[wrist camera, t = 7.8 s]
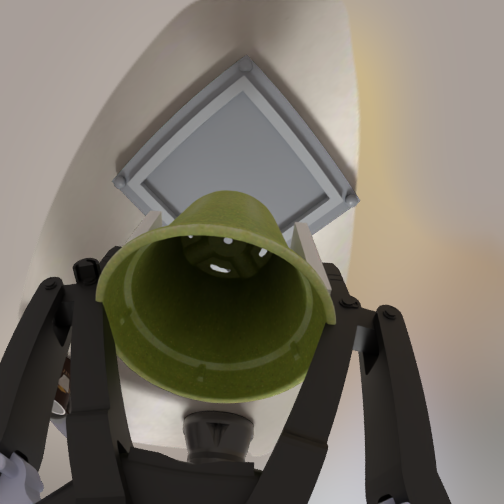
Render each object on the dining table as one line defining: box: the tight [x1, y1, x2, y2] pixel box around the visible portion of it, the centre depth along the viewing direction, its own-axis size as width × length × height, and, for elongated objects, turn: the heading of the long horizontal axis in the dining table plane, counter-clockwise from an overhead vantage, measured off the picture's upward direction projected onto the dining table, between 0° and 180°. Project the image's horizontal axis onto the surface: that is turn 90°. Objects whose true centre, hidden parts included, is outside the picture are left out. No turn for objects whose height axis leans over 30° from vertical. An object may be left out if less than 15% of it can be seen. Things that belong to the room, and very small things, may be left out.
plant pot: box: [96, 190, 336, 403], centre depth 14 cm, size 9×9×9 cm
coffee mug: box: [52, 357, 71, 415], centre depth 41 cm, size 12×9×10 cm
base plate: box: [112, 55, 360, 272], centre depth 27 cm, size 18×18×2 cm
